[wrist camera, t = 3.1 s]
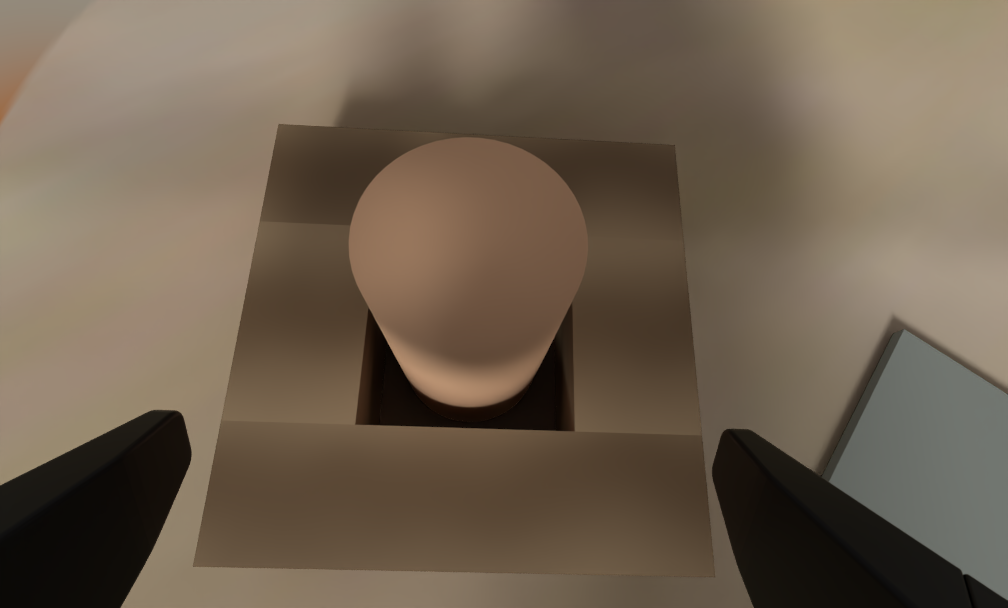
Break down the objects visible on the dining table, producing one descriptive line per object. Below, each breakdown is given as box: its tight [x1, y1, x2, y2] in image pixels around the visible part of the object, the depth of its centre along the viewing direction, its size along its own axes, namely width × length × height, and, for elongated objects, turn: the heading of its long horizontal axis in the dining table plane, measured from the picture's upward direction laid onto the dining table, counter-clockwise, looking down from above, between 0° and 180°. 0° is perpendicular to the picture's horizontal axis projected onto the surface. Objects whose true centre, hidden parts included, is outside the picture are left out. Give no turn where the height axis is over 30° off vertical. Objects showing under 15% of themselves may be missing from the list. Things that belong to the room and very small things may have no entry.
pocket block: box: [193, 124, 715, 577], centre depth 19 cm, size 14×14×4 cm
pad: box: [822, 329, 1008, 600], centre depth 19 cm, size 12×12×1 cm
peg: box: [349, 137, 588, 422], centre depth 16 cm, size 5×5×10 cm
